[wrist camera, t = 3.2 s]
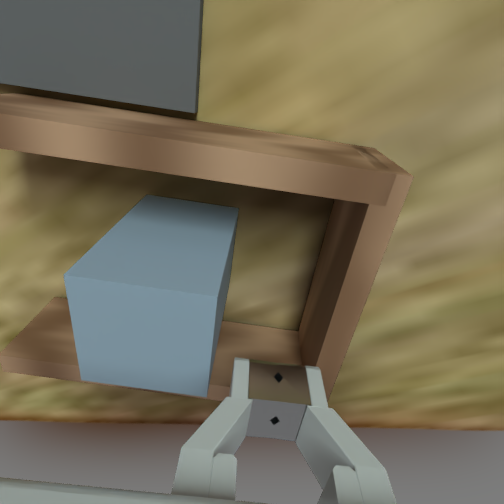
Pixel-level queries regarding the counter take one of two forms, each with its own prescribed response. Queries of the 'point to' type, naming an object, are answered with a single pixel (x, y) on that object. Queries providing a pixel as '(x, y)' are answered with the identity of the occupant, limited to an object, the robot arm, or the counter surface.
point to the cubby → (231, 171)
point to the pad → (105, 49)
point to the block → (154, 296)
